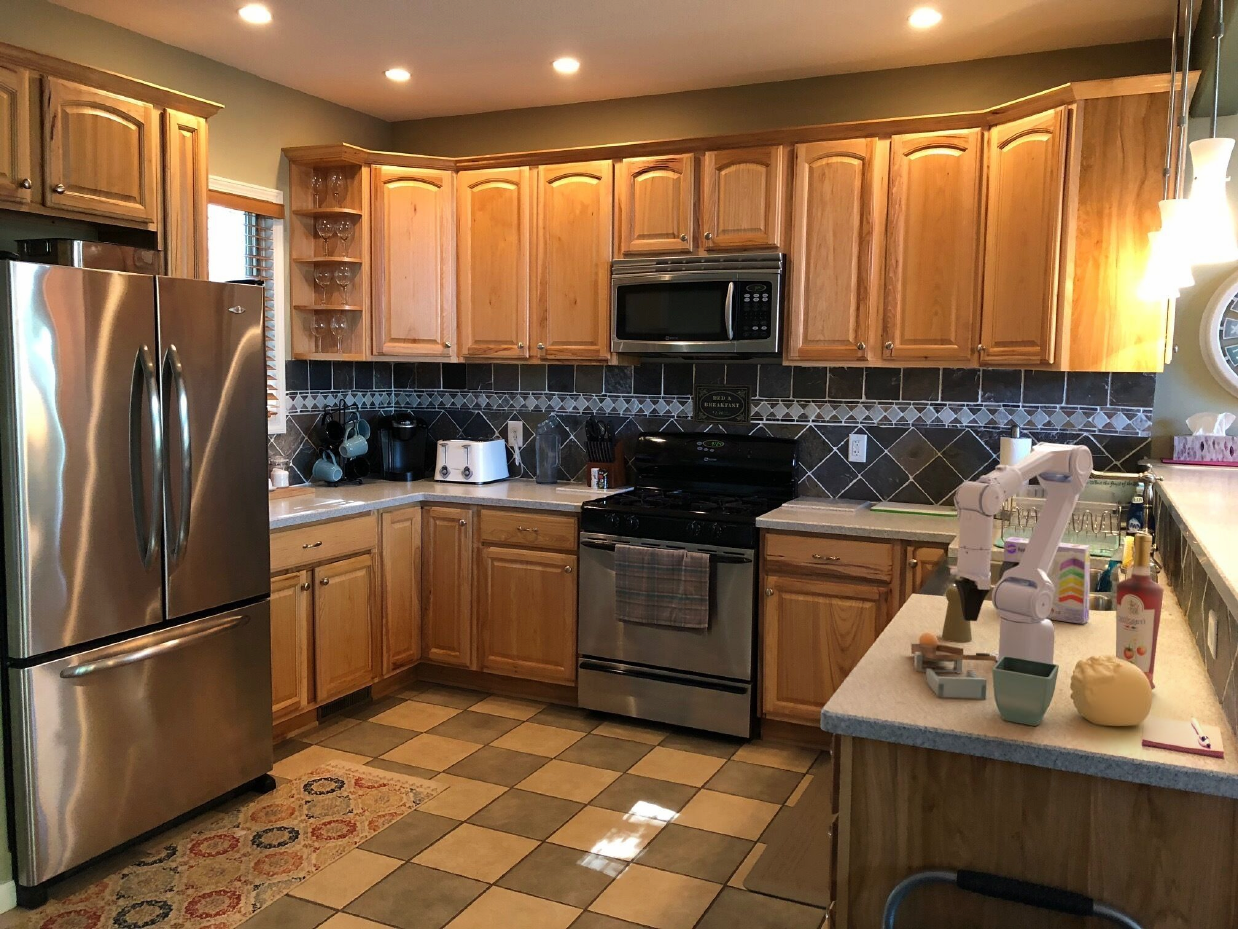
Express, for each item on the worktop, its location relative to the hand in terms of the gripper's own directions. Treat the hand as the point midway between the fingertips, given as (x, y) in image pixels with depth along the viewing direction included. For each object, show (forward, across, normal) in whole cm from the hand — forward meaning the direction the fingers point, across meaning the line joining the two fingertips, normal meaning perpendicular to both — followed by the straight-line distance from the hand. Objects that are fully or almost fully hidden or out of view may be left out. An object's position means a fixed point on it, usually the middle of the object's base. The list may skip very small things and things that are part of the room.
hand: (970, 620), depth 184 cm
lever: (+9, -3, -2) cm, 10 cm away
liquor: (+10, +6, +27) cm, 30 cm away
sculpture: (+11, +22, +16) cm, 30 cm away
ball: (+7, -10, -5) cm, 13 cm away
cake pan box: (+10, -47, +30) cm, 57 cm away
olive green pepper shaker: (+10, -26, +5) cm, 28 cm away
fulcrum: (+10, -2, -5) cm, 12 cm away
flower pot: (+11, +23, +2) cm, 26 cm away
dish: (+11, +9, -5) cm, 15 cm away
